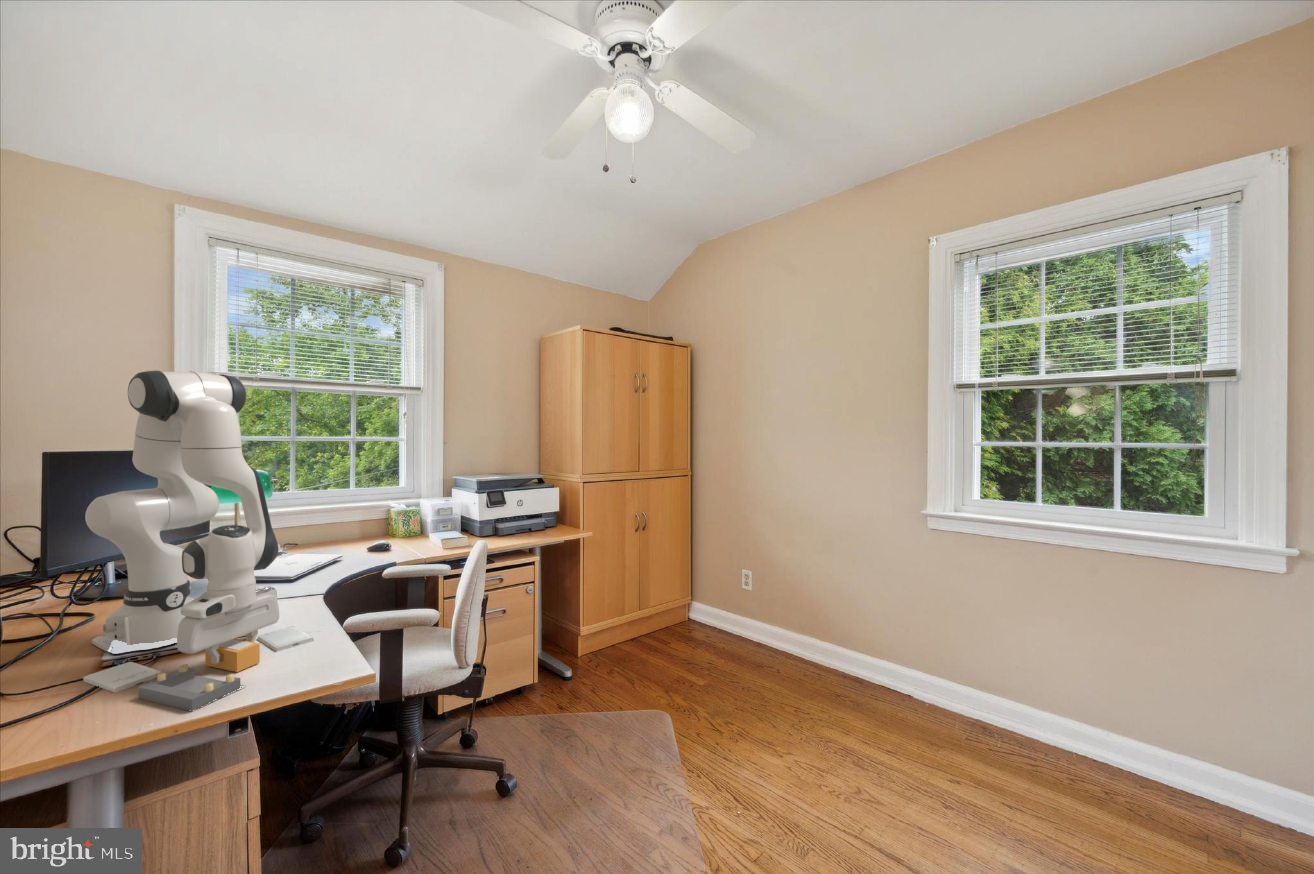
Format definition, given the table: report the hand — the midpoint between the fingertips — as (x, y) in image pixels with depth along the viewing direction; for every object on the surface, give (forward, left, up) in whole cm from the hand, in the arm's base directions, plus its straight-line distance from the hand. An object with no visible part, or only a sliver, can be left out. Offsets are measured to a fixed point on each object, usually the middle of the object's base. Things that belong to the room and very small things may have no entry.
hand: (232, 656), depth 123 cm
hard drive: (-2, +14, -3) cm, 14 cm away
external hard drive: (-16, -12, -3) cm, 20 cm away
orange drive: (0, 0, -2) cm, 2 cm away
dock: (+5, -11, -2) cm, 12 cm away
